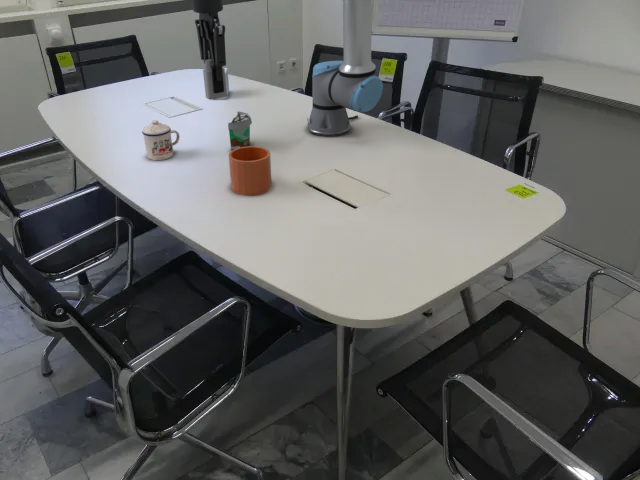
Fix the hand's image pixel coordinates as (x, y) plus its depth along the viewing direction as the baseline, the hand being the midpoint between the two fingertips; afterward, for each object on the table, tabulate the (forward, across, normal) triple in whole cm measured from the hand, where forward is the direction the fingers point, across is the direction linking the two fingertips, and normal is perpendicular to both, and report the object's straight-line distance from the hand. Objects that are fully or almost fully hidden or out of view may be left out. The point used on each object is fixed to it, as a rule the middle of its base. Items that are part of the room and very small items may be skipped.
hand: (216, 90), depth 144 cm
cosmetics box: (+27, -79, +36) cm, 91 cm away
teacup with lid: (+27, -30, -8) cm, 41 cm away
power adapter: (+2, 0, 0) cm, 2 cm away
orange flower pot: (+26, +8, +5) cm, 28 cm away
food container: (+27, -21, +17) cm, 38 cm away
